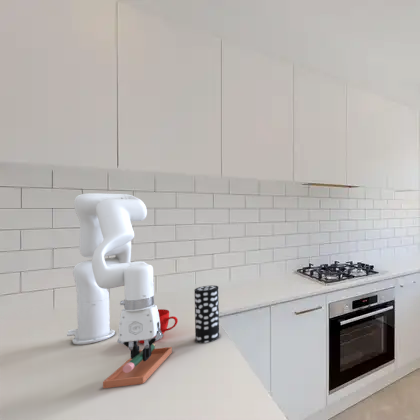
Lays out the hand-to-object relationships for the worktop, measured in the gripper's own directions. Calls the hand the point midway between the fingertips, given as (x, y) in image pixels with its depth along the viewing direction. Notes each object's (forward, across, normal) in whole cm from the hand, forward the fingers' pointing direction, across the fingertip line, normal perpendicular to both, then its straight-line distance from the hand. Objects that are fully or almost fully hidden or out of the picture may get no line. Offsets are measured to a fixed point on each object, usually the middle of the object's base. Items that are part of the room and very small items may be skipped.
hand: (141, 359), depth 100 cm
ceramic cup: (+3, -6, +24) cm, 25 cm away
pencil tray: (+3, 0, 0) cm, 3 cm away
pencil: (0, 0, 0) cm, 0 cm away
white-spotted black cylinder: (+3, +14, +20) cm, 25 cm away
